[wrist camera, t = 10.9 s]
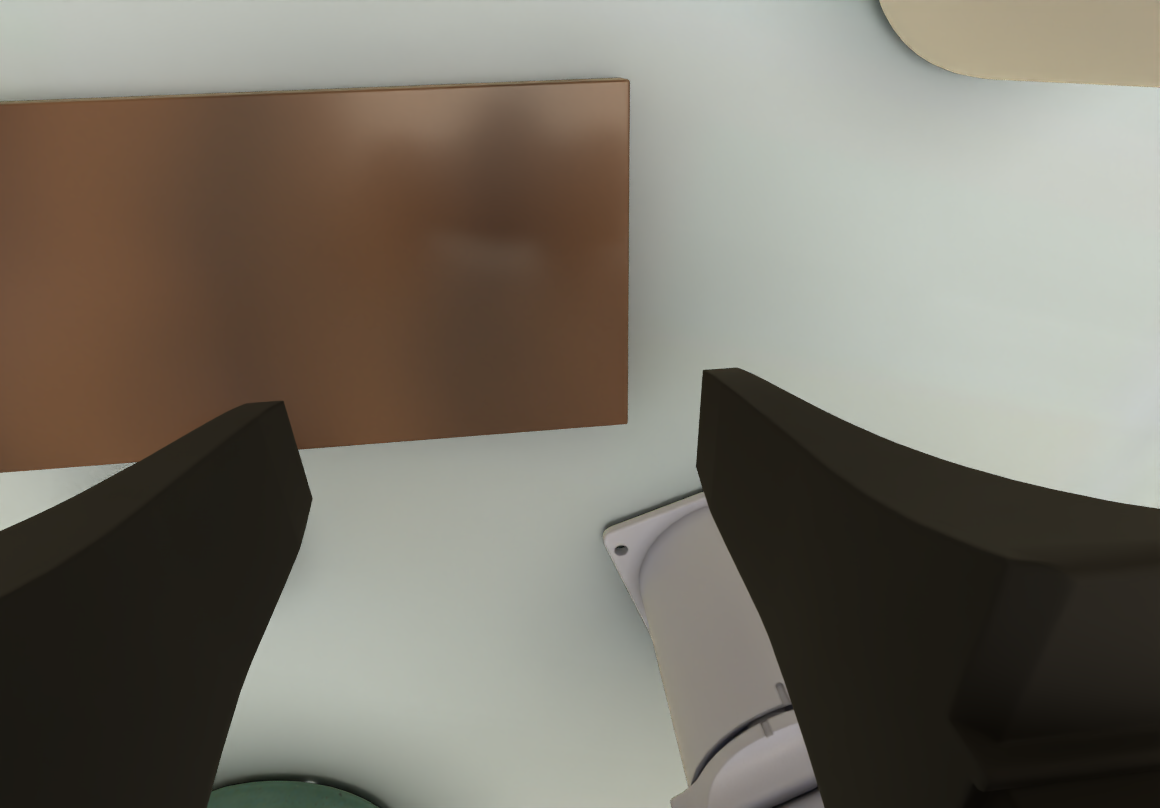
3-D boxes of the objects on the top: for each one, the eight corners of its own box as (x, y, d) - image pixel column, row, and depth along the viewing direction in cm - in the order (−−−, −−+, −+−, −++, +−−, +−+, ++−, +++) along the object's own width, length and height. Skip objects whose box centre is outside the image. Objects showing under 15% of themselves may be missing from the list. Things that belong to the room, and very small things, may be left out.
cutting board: (620, 77, 17) (629, 79, 16) (620, 402, 22) (627, 424, 21) (-182, 108, 16) (-246, 113, 14) (8, 448, 20) (-26, 475, 19)
